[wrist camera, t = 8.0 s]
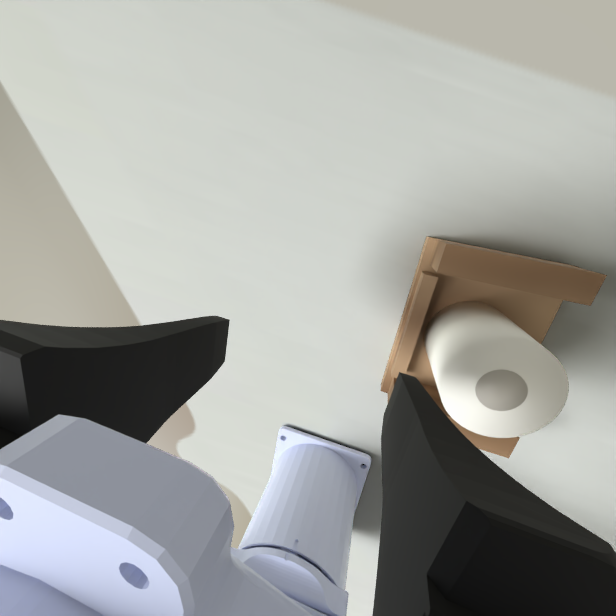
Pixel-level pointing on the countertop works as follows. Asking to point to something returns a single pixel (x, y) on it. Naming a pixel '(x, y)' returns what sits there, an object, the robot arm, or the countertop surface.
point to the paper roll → (493, 372)
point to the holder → (486, 289)
